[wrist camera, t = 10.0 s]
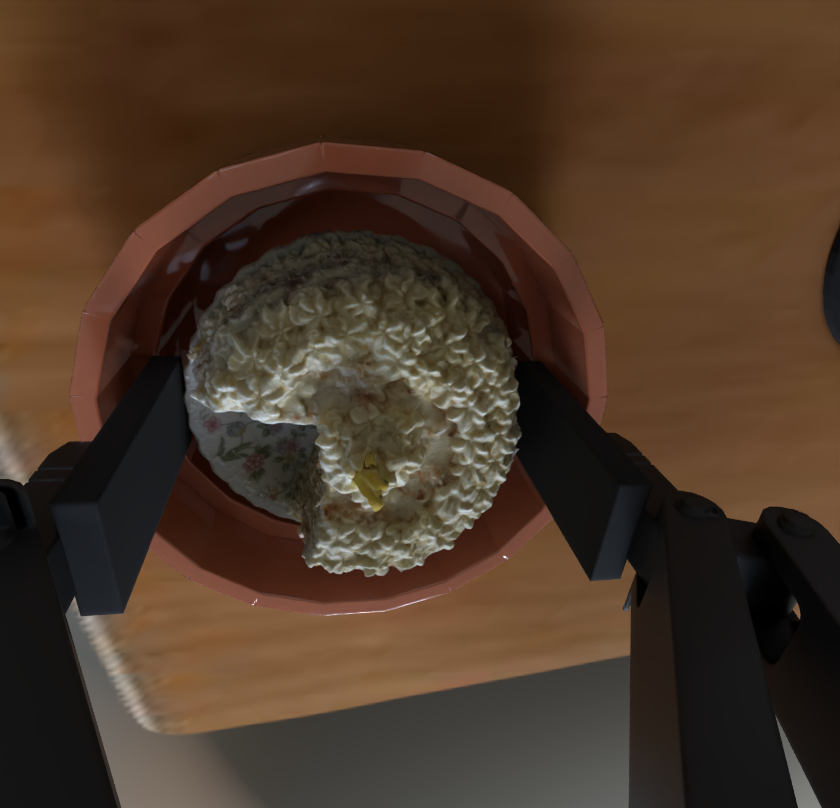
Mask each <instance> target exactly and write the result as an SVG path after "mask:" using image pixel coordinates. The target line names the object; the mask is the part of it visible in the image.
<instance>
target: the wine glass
mask: <svg viewBox="0 0 840 808" xmlns="http://www.w3.org/2000/svg"><path fill="white" fill-rule="evenodd" d="M823 294H824V312H825V316H826V320H827V324H828V326H829V328H830V331H831V333H832V335H833V337H834V338H835V339H836V341H837V342H838V343H839V345H840V232H839V235H838V237H837V240H836V242H835V245H834V247H833V250H832V252H831V256H830V259H829V263H828V266H827V270H826V275H825V283H824V291H823Z"/></svg>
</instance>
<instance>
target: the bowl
mask: <svg viewBox="0 0 840 808" xmlns="http://www.w3.org/2000/svg"><path fill="white" fill-rule="evenodd" d="M328 229H330V230H331V232H333V233H335V232H336V231H337V230H338V231H347V232H348V233H352V231H353V230H358V231H360V230H361V229H364V230H367V231H369V232H370V231H372V232H374V233H375V234H378V235H380V234H381V235H385V234H386V235H387V236H388V235H391V234H393V235H396V234H399V235H400V236H404V237H405V238H407V239H408V240H410V241H411V242H412V243H417V244H421V245H428V246H431V247H432V248H433V249H434V250H435V251H438V253H439V254H441V255H443V256H444V257H448V258H451V259H452V260H453V259H454V260H455V262H456V263H458V264H459V266H460V267H461V268H462V269H463V270H464V272H465V274H466V275H469V276H471V277H472V278H473V279H474V278H475V279H476V280H477V281H478V282H479V284H480V287H481V290H482V291H483V292H484V294H485V295H486V296H487V297H488V298H490V299H491V300H492V301H493V304H494V305H495V307H496V310H497V314H498V315H499V317H500V318H501V319H502V320H503V322H504V323H505V324H506V329H507V332H508V336H509V338H510V339H511V341H512V344H511V348H512V350H513V355H512V357H515V356H518V357H516V358H515V360H517V364H518V361H541V362H542V363H543V364H544V365H545V367H546V368H547V369H548V370H549V371H550V372H551V373H552V374H553V375H554V376H555V377H556V378H557V380H558V381H559V382H560V383H561V384H562V385H563V386H564V387H565V388H566V389H567V390H568V392H569V393H570V394H571V395H572V396H573V397H574V398H575V399H576V400H577V401H578V402H579V404H580V405H581V406H582V407H583V408H584V409H585V410H586V411H587V412H588V413H589V414H590V416H591V417H592V418H593V419H594V420H595V421H596V422H597V423H598V424H599V425H600V423H601V420H602V416H603V412H604V409H605V405H606V401H607V398H608V397H607V395H608V385H607V367H606V350H605V333H604V325H603V321H602V318H601V316H600V314H599V311H598V309H597V307H596V305H595V302H594V300H593V298H592V295H591V293H590V291H589V289H588V286H587V284H586V282H585V279H584V277H583V275H582V273H581V270H580V268H579V266H578V263H577V261H576V259H575V256H574V255H573V254H572V252H571V251H570V250H569V249H568V248H567V247H566V246H565V244H564V243H563V242H562V241H561V240H560V239H559V238H558V237H557V236H556V235H555V234H554V233H553V232H552V231H551V230H550V229H549V228H548V227H547V226H546V225H545V224H544V223H543V222H542V221H541V220H540V219H539V218H538V217H537V216H536V215H535V214H534V213H533V212H532V211H531V210H530V209H529V208H528V207H527V206H526V205H525V204H524V203H523V202H522V201H521V200H520V199H519V198H518V197H517V196H516V195H515V194H514V193H512V192H511V191H510V190H508V189H506V188H504V187H502V186H500V185H498V184H495V183H493V182H491V181H489V180H487V179H485V178H483V177H480V176H478V175H476V174H474V173H472V172H470V171H468V170H465V169H463V168H461V167H459V166H457V165H455V164H453V163H451V162H448V161H446V160H444V159H442V158H440V157H438V156H436V155H433V154H431V153H429V152H427V151H423V150H420V149H417V148H413V147H410V146H406V145H403V144H400V143H395V142H392V141H381V140H370V139H359V138H348V137H337V136H326V135H322V136H321V137H320V136H314V137H310V138H307V139H303V140H299V141H295V142H292V143H288V144H284V145H280V146H277V147H273V148H269V149H265V150H262V151H258V152H254V153H250V154H248V155H246V156H244V157H242V158H240V159H238V160H236V161H234V162H231V163H229V164H227V165H225V166H223V167H221V168H219V169H217V170H215V171H214V172H212V173H211V174H209V175H208V176H207V177H205V178H204V179H202V180H201V181H200V182H198V183H197V184H195V185H194V186H193V187H191V188H190V189H188V190H187V191H186V192H184V193H183V194H181V195H180V196H179V197H177V198H176V199H175V200H173V201H172V202H170V203H169V204H168V205H166V206H165V207H163V208H162V209H161V210H159V211H158V212H156V213H155V214H154V215H152V216H151V217H149V218H148V219H147V220H145V221H144V222H143V223H141V224H140V225H138V226H137V227H136V228H135V230H134V231H132V232H131V233H130V235H129V237H128V238H127V240H126V241H125V243H124V245H123V246H122V248H121V249H120V251H119V252H118V254H117V256H116V257H115V259H114V260H113V262H112V264H111V265H110V267H109V268H108V270H107V272H106V273H105V275H104V276H103V278H102V279H101V281H100V283H99V284H98V286H97V287H96V289H95V291H94V292H93V294H92V295H91V297H90V298H89V300H88V302H87V303H86V305H85V306H84V310H83V311H82V316H81V322H80V328H79V335H78V341H77V347H76V353H75V360H74V366H73V372H72V378H71V385H70V391H69V393H70V400H71V404H72V408H73V412H74V416H75V421H76V425H77V429H78V433H79V437H80V441H93V439H94V438H95V436H96V435H97V434H98V432H99V431H100V429H101V428H102V426H103V425H104V424H105V422H106V421H107V419H108V418H109V416H110V415H111V414H112V412H113V411H114V409H115V408H116V406H117V405H118V404H119V402H120V401H121V399H122V398H123V397H124V395H125V394H126V392H127V391H128V389H129V388H130V387H131V385H132V384H133V382H134V381H135V379H136V378H137V377H138V375H139V374H140V372H141V371H142V370H143V368H144V367H145V365H146V364H147V362H148V361H149V360H150V358H151V357H152V356H181V360H182V367H183V371H184V368H185V365H187V363H189V362H188V359H189V358H188V357H187V355H188V354H189V345H190V339H191V337H192V336H193V335H194V334H195V333H196V332H197V330H198V329H197V327H198V325H199V323H200V322H199V319H200V318H201V315H202V314H203V312H204V311H205V310H206V308H208V307H209V306H210V305H211V304H212V303H213V302H214V299H215V296H216V293H217V292H218V290H219V289H220V288H221V287H222V286H223V287H224V285H225V284H229V283H230V282H232V280H233V278H234V275H235V274H237V273H238V271H239V270H240V268H241V269H242V266H244V265H249V264H250V263H252V264H253V263H254V262H256V261H257V262H258V260H259V258H260V257H261V256H262V255H263V254H264V253H265V252H267V251H268V250H270V249H271V248H274V247H279V246H282V247H284V245H286V246H287V245H288V244H289V243H291V242H292V241H294V240H295V239H296V238H298V237H299V236H300V235H306V236H308V235H310V234H312V233H323V232H326V230H328ZM516 369H517V366H515V370H514V371H515V375H516ZM514 378H515V377H514ZM184 383H185V380H184ZM191 437H192V440H191V443H190V445H189V448H188V450H187V453H186V455H185V458H184V461H183V463H182V466H181V468H180V471H179V473H178V476H177V478H176V481H175V483H174V486H173V488H172V491H171V493H170V496H169V498H168V501H167V504H166V506H165V509H164V511H163V514H162V516H161V519H160V521H159V524H158V526H157V529H156V531H155V534H154V536H153V539H152V542H151V544H150V547H149V549H150V550H151V551H153V552H154V553H155V554H157V555H158V556H159V557H160V558H162V559H163V560H164V561H166V562H167V563H168V564H169V565H171V566H172V567H173V568H175V569H176V570H177V571H178V572H180V573H181V574H182V575H184V576H185V577H186V578H188V579H189V580H191V581H194V582H196V583H199V584H201V585H203V586H206V587H208V588H211V589H213V590H216V591H218V592H220V593H223V594H225V595H228V596H230V597H233V598H235V599H238V600H240V601H242V602H245V603H247V604H250V605H255V606H260V607H266V608H273V609H280V610H286V611H293V612H300V613H306V614H313V615H322V616H326V615H340V614H353V613H367V612H380V611H388V610H392V609H395V608H399V607H402V606H405V605H409V604H412V603H415V602H419V601H422V600H425V599H429V598H432V597H435V596H439V595H442V594H445V593H449V592H450V591H453V590H455V589H457V588H459V587H460V586H462V585H464V584H466V583H468V582H469V581H471V580H473V579H475V578H476V577H478V576H480V575H482V574H484V573H485V572H487V571H489V570H491V569H492V568H494V567H496V566H498V565H499V564H501V563H503V562H505V561H506V560H507V559H510V558H511V557H512V556H513V555H514V554H515V553H516V552H517V551H518V550H519V549H520V548H522V547H523V546H524V545H525V544H526V543H527V542H528V541H529V540H530V539H531V538H532V537H533V536H534V535H536V534H537V533H538V532H539V531H540V530H541V529H542V528H543V527H544V526H545V525H546V524H547V523H548V522H549V521H551V520H552V519H553V517H552V515H551V513H550V512H549V510H548V508H547V506H546V505H545V503H544V501H543V500H542V498H541V496H540V495H539V493H538V491H537V489H536V488H535V486H534V484H533V483H532V481H531V479H530V478H529V476H528V474H527V472H526V471H525V469H524V467H523V466H522V464H521V462H520V461H519V459H518V457H517V455H516V454H515V455H514V457H513V460H514V461H512V463H511V466H510V470H509V471H508V473H507V474H506V481H504V482H503V483H501V484H500V488H499V490H498V491H497V495H496V496H494V497H493V504H492V506H491V507H490V508H489V509H487V510H485V512H483V513H482V514H481V515H480V517H479V518H478V519H475V520H474V525H473V527H472V528H471V529H467V528H465V529H464V530H463V531H462V532H461V534H460V536H458V537H457V539H456V540H453V541H454V547H453V548H452V549H450V550H447V549H442V550H439V551H438V552H434V553H432V554H430V555H428V556H427V557H426V558H425V560H424V564H423V565H422V566H419V565H416V566H415V567H413V568H411V569H407V570H403V571H402V572H399V570H398V569H397V568H395V567H393V566H389V570H388V572H387V573H386V574H385V575H384V576H380V575H377V574H375V575H373V576H370V577H366V576H365V575H364V571H363V570H361V569H353V570H352V571H349V572H343V573H342V574H336V573H334V572H332V573H329V572H328V571H327V570H325V568H324V567H323V566H321V565H318V566H315V565H314V566H313V567H312V568H310V567H308V565H307V564H306V562H305V558H303V557H302V551H303V549H304V546H305V543H304V542H303V538H300V536H299V535H298V528H299V527H300V525H301V523H300V522H297V521H295V520H293V519H289V518H282V517H279V516H276V515H274V514H272V513H270V512H269V511H268V510H266V509H264V508H261V507H255V506H254V505H253V504H252V503H251V502H250V501H248V500H247V499H246V497H244V496H243V495H240V494H237V493H235V491H233V490H232V489H231V488H230V487H229V484H228V483H227V482H225V481H224V480H222V479H221V478H220V477H219V476H217V475H216V474H215V473H214V472H213V470H212V468H211V465H210V462H209V461H208V460H207V459H206V458H205V457H203V455H202V454H201V453H200V451H199V449H198V447H197V446H198V442H197V441H196V439H195V435H194V434H193V433H192V431H191ZM364 469H370V467H368V468H367V467H365V465H364Z"/></svg>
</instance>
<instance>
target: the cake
mask: <svg viewBox="0 0 840 808" xmlns="http://www.w3.org/2000/svg"><path fill="white" fill-rule="evenodd" d="M199 322H200V323H199V325H198V327H197V329H198V330H197V332H196V333H195V334H194V335H193V336H192V337H191V339H190V345H189V354H188V355H187V357H188V358H189V359H188V362H189V363H187V365H185V368H184V371H183V376H184V380H185V392H184V397H183V400H184V403H185V405H186V409H187V412H188V425H189V427H188V428H189V429H190V430H191V431H192V433H193V434H194V435H195V439H196V441H197V442H198V446H197V447H198V449H199V451H200V453H201V454H202V455H203V457H205V458H206V459H207V460H208V461H209V462H210V465H211V468H212V470H213V472H214V473H215V474H216V475H217V476H219V477H220V478H221V479H222V480H224V481H225V482H227V483H228V484H229V487H230V488H231V489H232V490H233V491H235V493H237V494H240V495H243V496H244V497H246V499H247V500H248V501H250V502H251V503H252V504H253V505H254V506H255V507H261V508H264V509H266V510H268V511H269V512H270V513H272V514H274V515H276V516H279V517H282V518H289V519H293V520H295V521H297V522H300V523H301V525H300V527H299V528H298V535H299V536H300V538H303V542H304V543H305V546H304V549H303V551H302V557H303V558H305V562H306V564H307V565H308V567H310V568H312V567H313V566H314V565H315V566H318V565H321V566H323V567H324V568H325V570H327V571H328V572H329V573H332V572H334V573H336V574H342V573H343V572H349V571H352V570H353V569H361V570H363V571H364V575H365V576H366V577H370V576H373V575H375V574H377V575H380V576H384V575H385V574H386V573H387V572H388V570H389V566H393V567H395V568H397V569H398V570H399V572H402V571H403V570H407V569H411V568H413V567H415V566H416V565H419V566H422V565H423V564H424V560H425V558H426V557H427V556H428V555H430V554H432V553H434V552H438V551H439V550H442V549H447V550H450V549H452V548H453V547H454V541H453V540H456V539H457V537H458V536H460V534H461V532H462V531H463V530H464V529H465V528H467V529H471V528H472V527H473V525H474V520H475V519H478V518H479V517H480V515H481V514H482V513H483V512H485V510H487V509H489V508H490V507H491V506H492V504H493V497H494V496H496V495H497V491H498V490H499V488H500V484H501V483H503V482H504V481H506V474H507V473H508V471H509V470H510V466H511V463H512V461H514V460H513V457H514V455H515V453H516V452H517V451H518V450H519V449H516V446H515V445H516V443H517V441H518V439H519V438H520V437H521V435H522V433H521V431H520V429H521V428H520V426H519V424H518V423H517V422H516V421H517V417H516V411H517V410H518V408H519V406H520V397H519V394H518V391H517V388H518V384H519V383H518V381H517V380H516V379H515V378H514V377H515V371H514V370H515V366H517V360H515V358H516V357H518V356H515V357H512V355H513V350H512V348H511V344H512V341H511V339H510V338H509V336H508V332H507V329H506V324H505V323H504V322H503V320H502V319H501V318H500V317H499V315H498V314H497V310H496V307H495V305H494V304H493V301H492V300H491V299H490V298H488V297H487V296H486V295H485V294H484V292H483V291H482V290H481V287H480V284H479V282H478V281H477V280H476V279H475V278H474V279H473V278H472V277H471V276H469V275H466V274H465V272H464V270H463V269H462V268H461V267H460V266H459V264H458V263H456V262H455V260H454V259H453V260H452V259H451V258H448V257H444V256H443V255H441V254H439V253H438V251H435V250H434V249H433V248H432V247H431V246H428V245H421V244H417V243H412V242H411V241H410V240H408V239H407V238H405V237H404V236H400V235H399V234H396V235H393V234H391V235H388V236H387V235H386V234H385V235H381V234H380V235H378V234H375V233H374V232H372V231H370V232H369V231H367V230H364V229H361V230H360V231H358V230H353V231H352V233H348V232H347V231H338V230H337V231H336V232H335V233H333V232H331V230H330V229H328V230H326V232H323V233H312V234H310V235H308V236H306V235H300V236H299V237H298V238H296V239H295V240H294V241H292V242H291V243H289V244H288V245H287V246H286V245H284V247H282V246H279V247H274V248H271V249H270V250H268V251H267V252H265V253H264V254H263V255H262V256H261V257H260V258H259V260H258V262H257V261H256V262H254V263H253V264H252V263H250V264H249V265H244V266H242V269H241V268H240V270H239V271H238V273H237V274H235V275H234V278H233V280H232V282H230V283H229V284H225V285H224V287H223V286H222V287H221V288H220V289H219V290H218V292H217V293H216V296H215V299H214V302H213V303H212V304H211V305H210V306H209V307H208V308H206V310H205V311H204V312H203V314H202V315H201V318H200V319H199ZM364 465H365V467H367V468H368V467H370V469H364Z"/></svg>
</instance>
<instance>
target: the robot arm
mask: <svg viewBox="0 0 840 808" xmlns="http://www.w3.org/2000/svg"><path fill="white" fill-rule="evenodd" d="M515 379H516V380H517V381H518V383H519V384H518V388H517V391H518V394H519V397H520V406H519V408H518V410H517V411H516V417H517V421H516V422H517V423H518V424H519V426H520V428H521V429H520V431H521V433H522V435H521V437H520V438H519V439H518V441H517V443H516V445H515V446H516V449H519V450H518V451H517V452H516V453H515V454H516V455H517V457H518V459H519V461H520V462H521V464H522V466H523V467H524V469H525V471H526V472H527V474H528V476H529V478H530V479H531V481H532V483H533V484H534V486H535V488H536V489H537V491H538V493H539V495H540V496H541V498H542V500H543V501H544V503H545V505H546V506H547V508H548V510H549V512H550V513H551V515H552V517H553V518H554V520H555V522H556V523H557V525H558V527H559V529H560V530H561V532H562V534H563V535H564V537H565V539H566V540H567V542H568V544H569V546H570V547H571V549H572V551H573V552H574V554H575V556H576V557H577V559H578V561H579V563H580V564H581V566H582V568H583V569H584V571H585V573H586V574H587V576H588V578H589V580H590V581H596V580H610V579H620V578H621V575H622V572H623V569H624V566H625V563H626V560H627V559H628V561H629V562H630V564H631V565H632V567H633V568H634V569H635V571H636V574H635V577H634V580H633V582H632V585H631V588H630V591H629V593H628V596H627V599H626V602H625V604H624V607H623V610H625V611H628V609H629V607H630V605H631V652H630V658H631V659H630V739H629V808H798V806H797V802H796V798H795V794H794V790H793V786H792V782H791V778H790V774H789V769H788V765H787V761H786V758H785V753H784V749H783V745H782V741H781V737H780V733H779V729H778V725H777V721H776V717H777V718H778V721H779V723H780V725H781V726H782V728H783V730H784V733H785V735H786V737H787V738H788V741H789V743H790V745H791V747H792V749H793V751H794V753H795V755H796V757H797V759H798V761H799V763H800V765H801V767H802V769H803V771H804V773H805V775H806V777H807V779H808V781H809V783H810V785H811V787H812V789H813V791H814V793H815V795H816V797H817V799H818V801H819V803H820V805H821V807H822V808H840V544H839V543H838V542H837V541H836V540H835V538H834V537H833V536H832V535H831V534H830V533H829V531H828V530H827V529H826V528H824V527H823V526H822V525H821V524H820V523H819V522H817V521H816V520H814V519H812V518H810V517H809V516H808V515H806V514H804V513H802V512H799V511H797V510H794V509H788V508H783V507H768V508H766V509H763V511H762V514H761V516H760V518H759V520H758V522H757V523H753V522H747V521H741V520H736V519H730V518H727V517H726V515H725V514H724V512H723V510H722V509H721V508H720V507H718V506H717V505H716V504H715V503H714V502H712V501H710V500H708V499H707V498H705V497H703V496H700V495H697V494H694V493H691V492H685V491H678V490H677V489H676V488H675V487H674V486H673V485H672V484H671V483H670V482H669V481H668V480H667V479H666V478H665V477H664V476H663V475H662V474H661V473H660V472H659V470H658V469H657V468H656V467H655V466H654V465H651V462H650V461H649V460H648V459H647V458H646V457H645V456H642V453H641V452H640V451H639V450H638V449H637V448H636V447H635V446H634V445H633V444H632V443H631V442H630V441H628V440H626V439H625V438H623V437H621V436H620V435H618V434H616V433H606V432H605V431H604V430H603V429H602V428H601V426H600V425H599V424H598V423H597V422H596V421H595V420H594V419H593V418H592V417H591V416H590V414H589V413H588V412H587V411H586V410H585V409H584V408H583V407H582V406H581V405H580V404H579V402H578V401H577V400H576V399H575V398H574V397H573V396H572V395H571V394H570V393H569V392H568V390H567V389H566V388H565V387H564V386H563V385H562V384H561V383H560V382H559V381H558V380H557V378H556V377H555V376H554V375H553V374H552V373H551V372H550V371H549V370H548V369H547V368H546V367H545V365H544V364H543V363H542V362H541V361H518V364H517V369H516V375H515ZM184 392H185V383H184V376H183V367H182V360H181V356H152V357H151V358H150V360H149V361H148V362H147V364H146V365H145V367H144V368H143V370H142V371H141V372H140V374H139V375H138V377H137V378H136V379H135V381H134V382H133V384H132V385H131V387H130V388H129V389H128V391H127V392H126V394H125V395H124V397H123V398H122V399H121V401H120V402H119V404H118V405H117V406H116V408H115V409H114V411H113V412H112V414H111V415H110V416H109V418H108V419H107V421H106V422H105V424H104V425H103V426H102V428H101V429H100V431H99V432H98V434H97V435H96V436H95V438H94V439H93V441H78V442H68V443H66V444H65V445H63V446H61V447H60V448H58V449H57V450H55V451H53V452H52V453H50V454H49V455H48V456H47V458H46V459H45V460H44V461H43V462H42V464H41V465H40V466H39V467H38V471H35V472H34V474H33V475H32V476H31V477H30V479H29V482H28V483H26V484H25V485H24V486H23V485H22V484H21V483H20V482H17V481H14V480H10V479H0V808H121V805H120V802H119V798H118V795H117V792H116V788H115V784H114V781H113V778H112V774H111V771H110V767H109V764H108V761H107V757H106V753H105V750H104V746H103V743H102V739H101V736H100V733H99V729H98V726H97V722H96V719H95V715H94V712H93V708H92V705H91V701H90V698H89V695H88V691H87V687H86V684H85V680H84V677H83V674H82V670H81V667H80V663H79V660H78V657H77V653H76V649H75V646H74V642H73V640H72V635H71V632H70V629H69V625H68V622H67V619H66V616H65V614H66V612H67V610H68V608H69V606H70V604H71V602H72V600H73V598H74V596H75V598H76V601H77V605H78V608H79V612H80V615H81V616H91V615H106V614H120V613H123V612H124V610H125V607H126V605H127V602H128V600H129V597H130V595H131V592H132V590H133V587H134V585H135V582H136V580H137V577H138V574H139V572H140V569H141V567H142V564H143V562H144V559H145V557H146V554H147V552H148V549H149V547H150V544H151V542H152V539H153V536H154V534H155V531H156V529H157V526H158V524H159V521H160V519H161V516H162V514H163V511H164V509H165V506H166V504H167V501H168V498H169V496H170V493H171V491H172V488H173V486H174V483H175V481H176V478H177V476H178V473H179V471H180V468H181V466H182V463H183V461H184V458H185V455H186V453H187V450H188V448H189V445H190V443H191V440H192V437H191V430H190V429H189V428H188V427H189V425H188V412H187V409H186V405H185V403H184V400H183V397H184ZM796 603H798V605H799V608H800V613H801V616H800V619H799V618H798V617H797V615H796V614H795V612H794V611H793V608H794V606H795V605H796ZM775 715H776V717H775Z"/></svg>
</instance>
